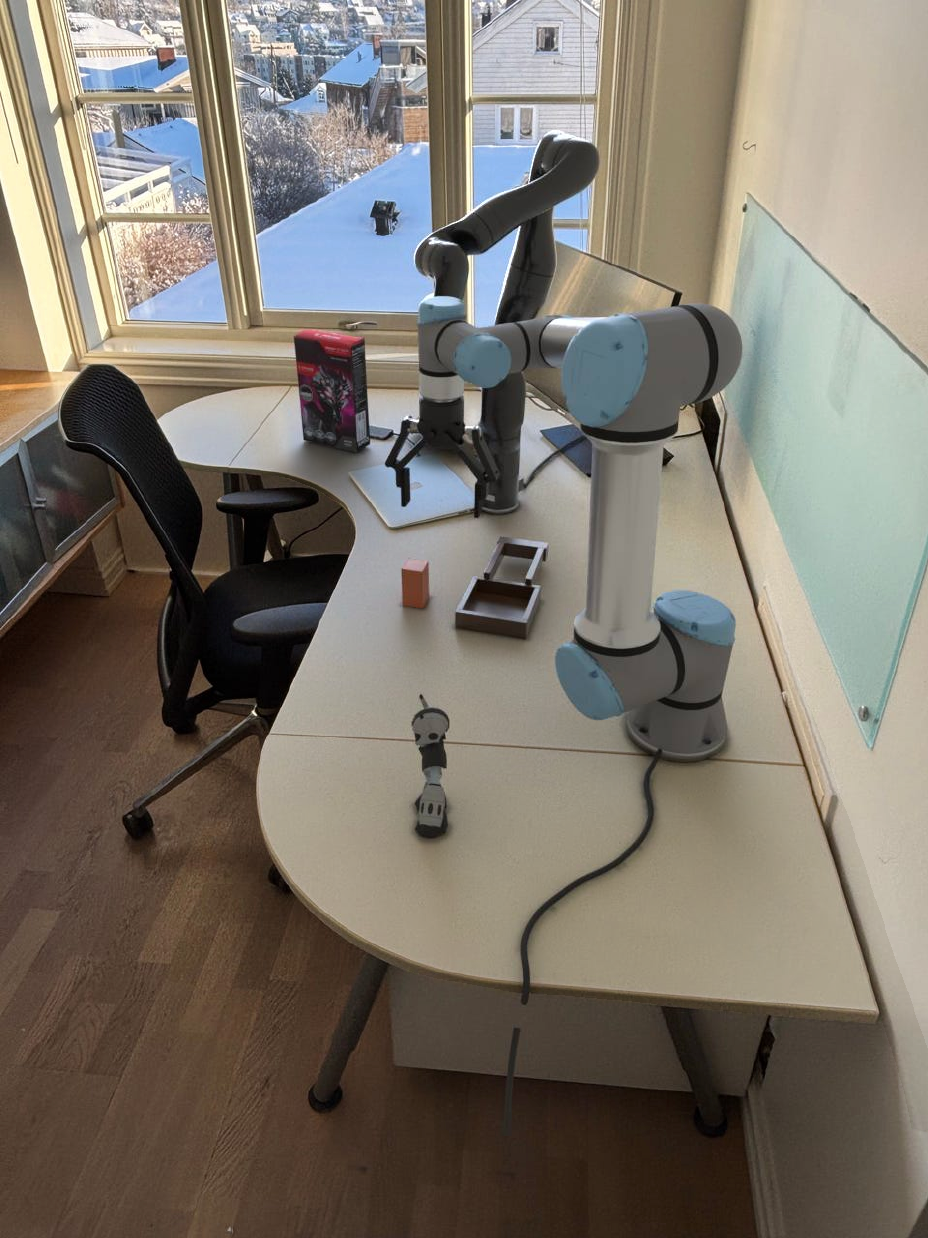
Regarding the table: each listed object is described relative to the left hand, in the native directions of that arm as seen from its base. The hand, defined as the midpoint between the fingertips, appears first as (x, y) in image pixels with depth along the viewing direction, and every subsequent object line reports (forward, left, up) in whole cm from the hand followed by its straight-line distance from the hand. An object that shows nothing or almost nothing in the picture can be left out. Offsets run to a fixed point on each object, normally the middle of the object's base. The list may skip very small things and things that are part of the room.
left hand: (444, 433), depth 182 cm
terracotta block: (+26, +2, -23) cm, 35 cm away
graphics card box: (-39, -40, -23) cm, 60 cm away
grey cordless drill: (+78, +21, -23) cm, 84 cm away
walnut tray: (+19, +18, -23) cm, 35 cm away
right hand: (+23, +6, -5) cm, 24 cm away
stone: (-46, -13, -23) cm, 53 cm away
